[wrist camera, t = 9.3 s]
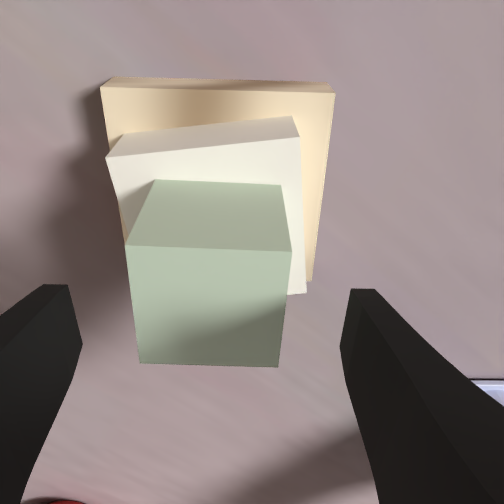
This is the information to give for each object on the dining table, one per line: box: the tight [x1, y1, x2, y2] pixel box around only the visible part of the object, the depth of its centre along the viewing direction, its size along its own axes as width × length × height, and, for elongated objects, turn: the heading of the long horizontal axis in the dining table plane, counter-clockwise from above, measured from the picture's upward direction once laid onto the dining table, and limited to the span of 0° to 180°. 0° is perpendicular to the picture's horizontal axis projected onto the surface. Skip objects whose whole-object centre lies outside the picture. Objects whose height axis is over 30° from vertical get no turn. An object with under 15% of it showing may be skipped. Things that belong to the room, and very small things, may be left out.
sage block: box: [125, 179, 292, 367], centre depth 13 cm, size 4×4×4 cm
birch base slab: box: [100, 77, 336, 281], centre depth 18 cm, size 8×8×2 cm
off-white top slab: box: [105, 115, 307, 295], centre depth 16 cm, size 6×6×2 cm
